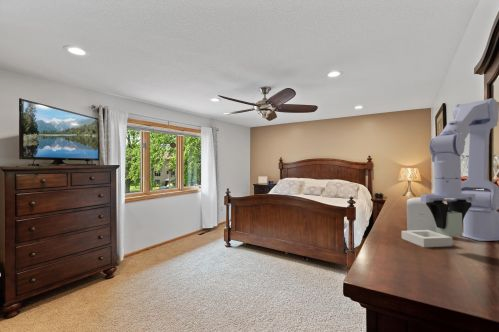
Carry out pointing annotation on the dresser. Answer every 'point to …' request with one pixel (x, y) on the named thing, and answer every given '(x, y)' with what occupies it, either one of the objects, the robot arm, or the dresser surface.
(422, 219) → the photo printer
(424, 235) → the white square frame
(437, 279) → the dresser surface
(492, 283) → the dresser surface
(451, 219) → the pale green block
